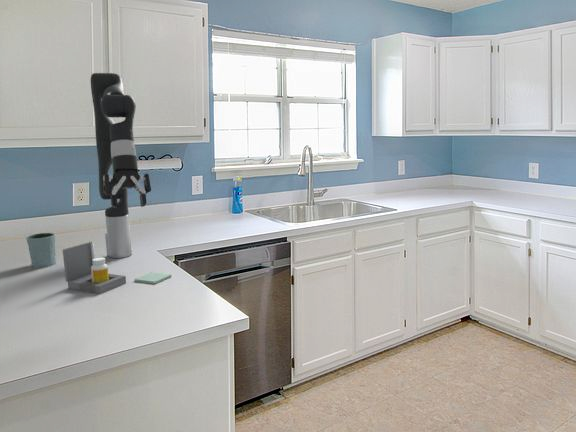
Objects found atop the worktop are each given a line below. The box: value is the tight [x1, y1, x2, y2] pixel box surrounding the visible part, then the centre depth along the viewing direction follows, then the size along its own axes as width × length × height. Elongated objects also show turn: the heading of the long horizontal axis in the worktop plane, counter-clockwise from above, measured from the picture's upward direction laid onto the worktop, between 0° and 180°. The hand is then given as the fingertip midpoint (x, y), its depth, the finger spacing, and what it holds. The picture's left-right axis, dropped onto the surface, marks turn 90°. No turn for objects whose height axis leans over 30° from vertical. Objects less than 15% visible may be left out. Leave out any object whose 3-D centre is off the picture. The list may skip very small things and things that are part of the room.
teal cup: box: [26, 232, 57, 269], centre depth 195 cm, size 10×10×12 cm
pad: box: [134, 271, 172, 285], centre depth 174 cm, size 9×9×1 cm
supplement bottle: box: [91, 257, 109, 283], centre depth 166 cm, size 5×5×10 cm
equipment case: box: [62, 241, 127, 295], centre depth 167 cm, size 15×12×14 cm
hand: (129, 207), depth 154 cm, fingers open, 8 cm apart
